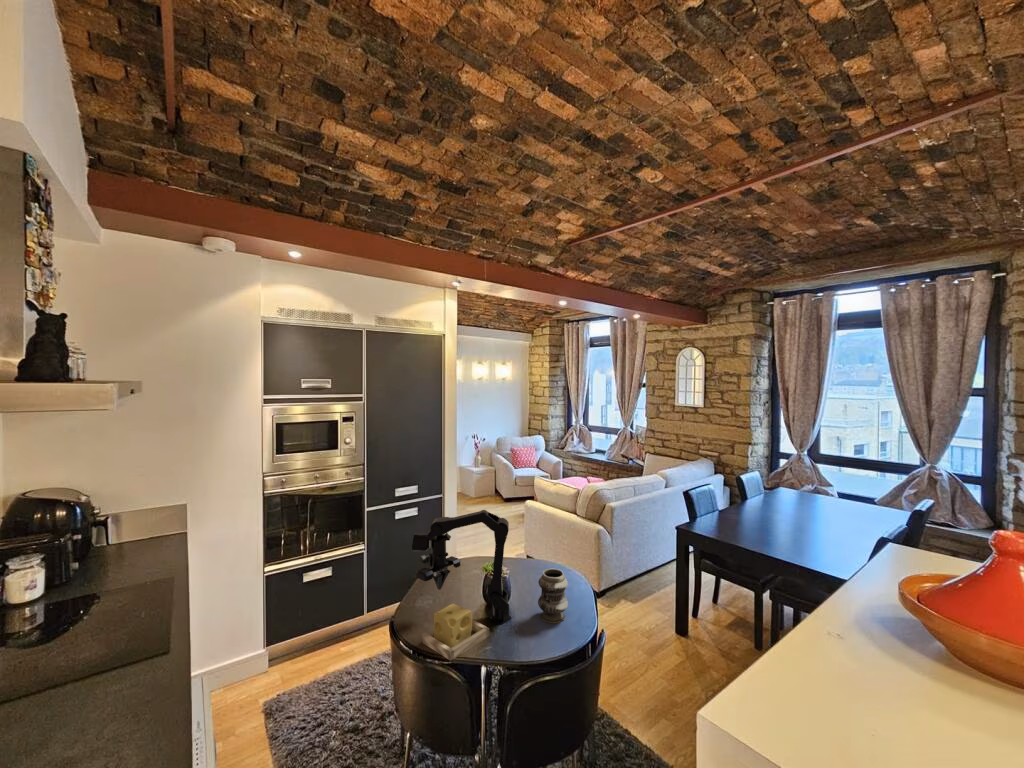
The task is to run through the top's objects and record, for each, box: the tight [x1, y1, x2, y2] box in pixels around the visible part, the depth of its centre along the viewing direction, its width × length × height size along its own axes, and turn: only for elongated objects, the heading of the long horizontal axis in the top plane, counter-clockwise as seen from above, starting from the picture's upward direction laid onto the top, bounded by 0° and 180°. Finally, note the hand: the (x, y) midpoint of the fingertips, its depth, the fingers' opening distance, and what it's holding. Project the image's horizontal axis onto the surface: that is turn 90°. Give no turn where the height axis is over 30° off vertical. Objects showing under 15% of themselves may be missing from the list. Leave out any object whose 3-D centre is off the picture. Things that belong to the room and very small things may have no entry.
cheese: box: [433, 603, 473, 648], centre depth 161 cm, size 10×11×10 cm
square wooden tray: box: [422, 618, 490, 661], centre depth 161 cm, size 16×19×3 cm
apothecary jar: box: [537, 567, 569, 624], centre depth 176 cm, size 12×12×18 cm
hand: (439, 589), depth 175 cm, fingers closed
